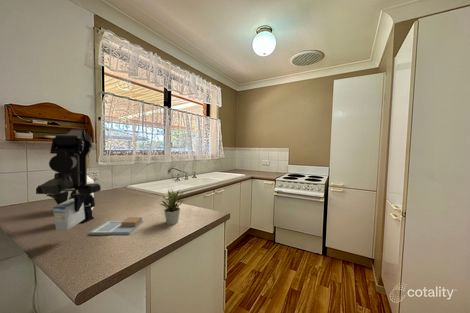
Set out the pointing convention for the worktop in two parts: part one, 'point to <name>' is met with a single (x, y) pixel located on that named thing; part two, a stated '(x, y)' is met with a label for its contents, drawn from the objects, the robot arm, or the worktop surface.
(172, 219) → the house plant
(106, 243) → the worktop surface
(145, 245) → the worktop surface
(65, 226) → the medicine box
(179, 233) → the worktop surface
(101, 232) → the board
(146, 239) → the worktop surface
